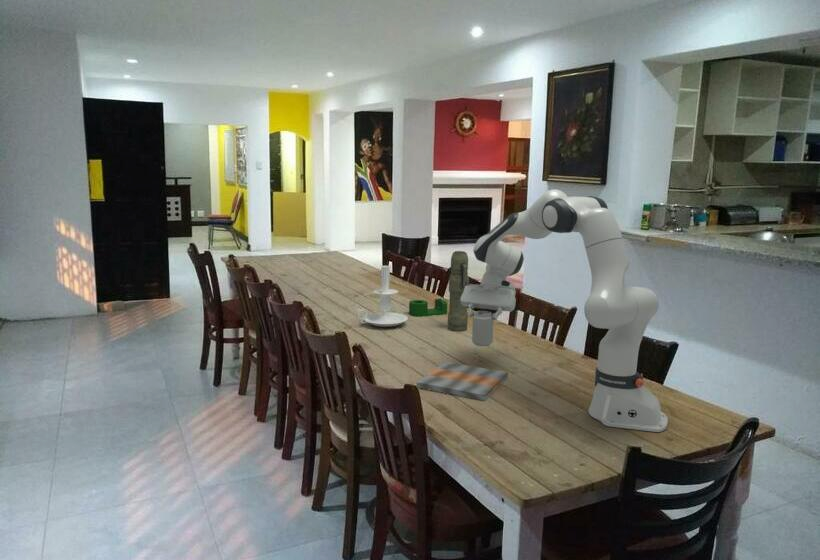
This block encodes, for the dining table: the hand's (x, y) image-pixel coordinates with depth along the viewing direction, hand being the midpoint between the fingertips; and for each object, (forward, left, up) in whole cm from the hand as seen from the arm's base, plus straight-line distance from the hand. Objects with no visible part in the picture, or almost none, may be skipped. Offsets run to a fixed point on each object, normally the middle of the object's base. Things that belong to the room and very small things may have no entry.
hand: (482, 317), depth 224 cm
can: (0, -1, -10) cm, 10 cm away
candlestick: (+60, -34, -19) cm, 72 cm away
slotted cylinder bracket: (+51, -63, -20) cm, 83 cm away
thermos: (+27, -45, -19) cm, 56 cm away
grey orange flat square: (0, +17, -19) cm, 26 cm away
